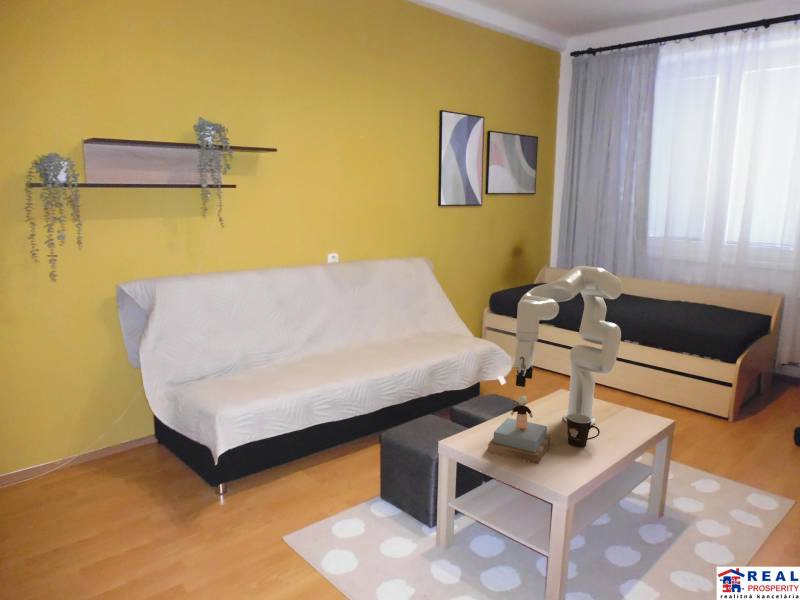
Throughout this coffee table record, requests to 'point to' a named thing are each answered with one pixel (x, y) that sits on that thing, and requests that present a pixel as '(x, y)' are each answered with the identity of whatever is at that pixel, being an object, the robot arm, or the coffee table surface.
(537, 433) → the tower top block
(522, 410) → the grandmother figurine
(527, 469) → the coffee table surface
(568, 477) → the coffee table surface
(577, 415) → the coffee mug
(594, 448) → the coffee table surface
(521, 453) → the tower base block
